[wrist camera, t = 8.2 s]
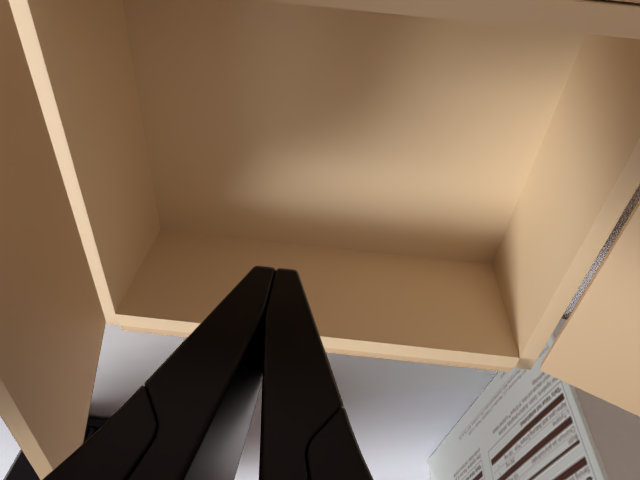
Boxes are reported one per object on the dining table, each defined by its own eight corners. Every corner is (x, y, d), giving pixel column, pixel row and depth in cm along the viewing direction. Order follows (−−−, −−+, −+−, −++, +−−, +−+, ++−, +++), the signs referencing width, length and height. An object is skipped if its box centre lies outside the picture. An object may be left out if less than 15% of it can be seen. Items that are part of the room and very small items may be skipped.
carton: (496, 275, 18) (526, 376, 15) (153, 238, 18) (104, 331, 15) (634, -51, 12) (749, -5, 8) (91, -106, 12) (-26, -84, 8)
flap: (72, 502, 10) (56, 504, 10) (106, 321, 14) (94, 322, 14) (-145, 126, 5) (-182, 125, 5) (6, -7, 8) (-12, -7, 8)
